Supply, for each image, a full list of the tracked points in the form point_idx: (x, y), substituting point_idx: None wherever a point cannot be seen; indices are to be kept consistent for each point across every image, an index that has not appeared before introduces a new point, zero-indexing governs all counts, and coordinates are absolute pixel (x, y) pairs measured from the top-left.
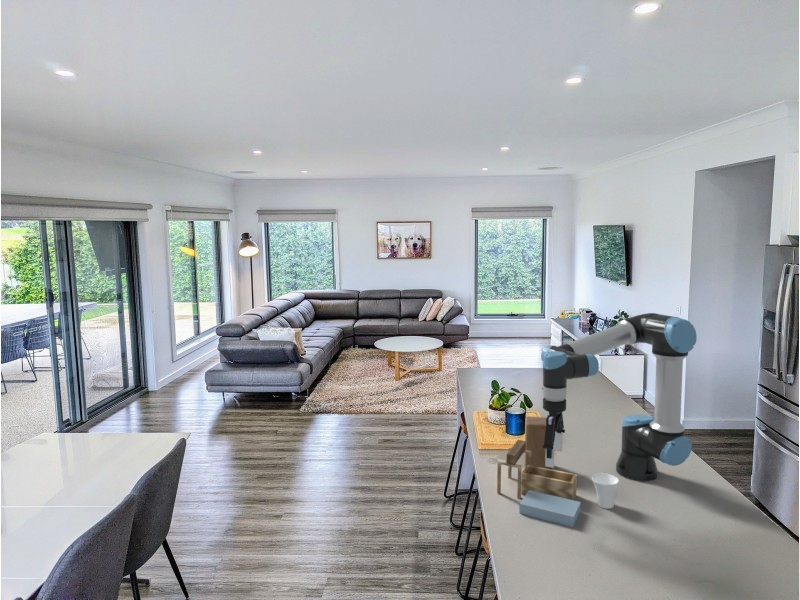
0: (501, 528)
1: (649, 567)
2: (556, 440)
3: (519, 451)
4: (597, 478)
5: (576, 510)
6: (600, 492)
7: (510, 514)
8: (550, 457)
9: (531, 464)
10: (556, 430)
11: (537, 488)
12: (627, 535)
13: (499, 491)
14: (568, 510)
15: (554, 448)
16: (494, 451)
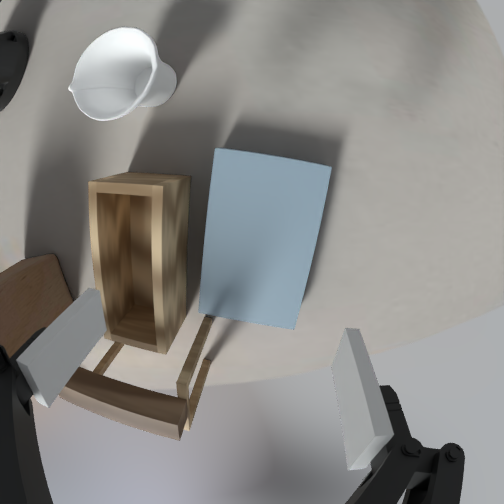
0: (373, 337)
1: (432, 14)
2: (70, 360)
3: (120, 401)
4: (96, 105)
5: (282, 158)
6: (157, 87)
7: (305, 331)
8: (396, 395)
9: (61, 307)
10: (26, 403)
11: (177, 290)
12: (314, 24)
13: (208, 365)
14: (291, 185)
15: (100, 336)
16: None
